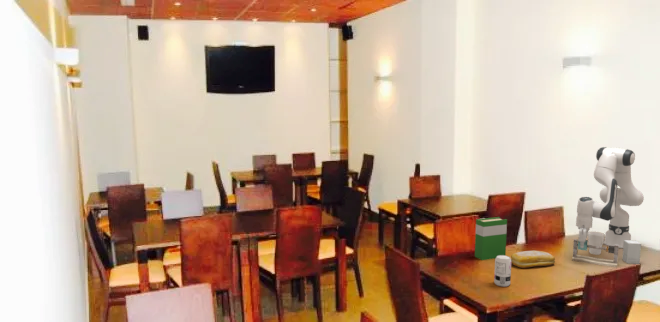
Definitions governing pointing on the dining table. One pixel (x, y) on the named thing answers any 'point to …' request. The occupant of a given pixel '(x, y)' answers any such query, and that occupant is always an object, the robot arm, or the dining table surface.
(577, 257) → the rail stand
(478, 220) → the green cereal box
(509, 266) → the supplement can
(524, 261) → the bread
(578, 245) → the sleeve
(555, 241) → the dining table surface
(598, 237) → the foam cup
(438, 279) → the dining table surface
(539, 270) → the dining table surface
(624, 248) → the supplement box
